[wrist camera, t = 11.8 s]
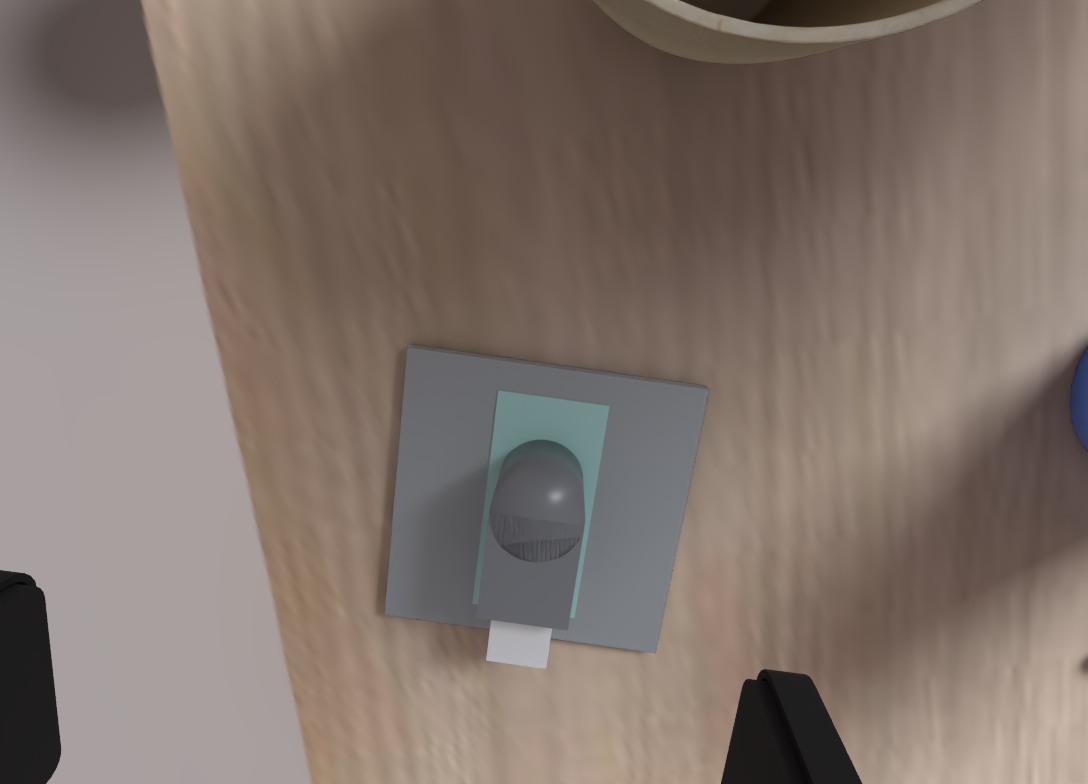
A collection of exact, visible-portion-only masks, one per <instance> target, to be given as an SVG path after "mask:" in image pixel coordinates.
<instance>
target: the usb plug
mask: <svg viewBox="0 0 1088 784" xmlns="http://www.w3.org/2000/svg"><path fill="white" fill-rule="evenodd" d="M584 527H585V503H584V483H583V472H582V468H581V465H580V463H579V461H578V459H577V458H576V456H575V455H574V454H573V453H572V452H571V451H570V450H569V449H568V448H566V447H565V446H563V445H561V444H559V443H557V442H554V441H550V440H532V441H528V442H525V443H523V444H521V445H519V446H517V447H516V448H514V449H513V450H512V451H511V452H510V453H509V454H508V456H507V457H506V458H505V460H504V462H503V464H502V467H501V470H500V474H499V477H498V481H497V484H496V488H495V491H494V495H493V498H492V502H491V505H490V510H489V517H488V525H487V534H486V542H485V550H484V558H483V567H482V575H481V583H480V591H479V599H478V608H477V616H476V618H480V619H487V620H491V626H490V633H489V641H488V649H487V657H486V661H493V662H500V663H507V664H515V665H522V666H529V667H536V668H543V669H546V666H547V659H548V653H549V646H550V640H551V633H552V629H559V630H566V631H568V627H569V620H570V614H571V608H572V602H573V596H574V589H575V583H576V577H577V571H578V565H579V558H580V552H581V546H582V540H583V534H584Z"/></svg>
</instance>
